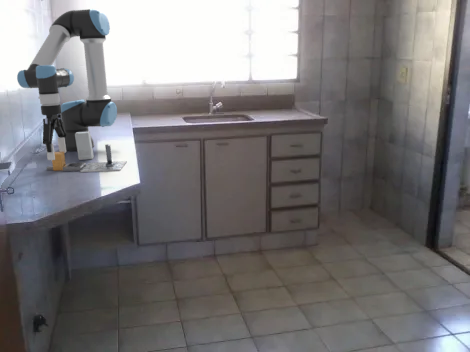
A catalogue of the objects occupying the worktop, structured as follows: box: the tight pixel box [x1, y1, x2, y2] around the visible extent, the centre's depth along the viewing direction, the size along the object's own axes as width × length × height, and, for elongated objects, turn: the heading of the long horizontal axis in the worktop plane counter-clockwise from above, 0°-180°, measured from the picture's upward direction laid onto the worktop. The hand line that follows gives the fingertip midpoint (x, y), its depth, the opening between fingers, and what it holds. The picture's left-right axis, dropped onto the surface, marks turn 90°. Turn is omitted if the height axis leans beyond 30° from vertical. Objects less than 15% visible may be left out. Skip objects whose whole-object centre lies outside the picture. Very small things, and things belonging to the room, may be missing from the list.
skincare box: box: [75, 131, 95, 161], centre depth 219 cm, size 6×4×12 cm
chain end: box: [46, 151, 87, 172], centre depth 204 cm, size 15×7×7 cm, turn 90°
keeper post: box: [80, 143, 128, 173], centre depth 203 cm, size 13×16×9 cm
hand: (57, 156), depth 203 cm, fingers open, 13 cm apart
